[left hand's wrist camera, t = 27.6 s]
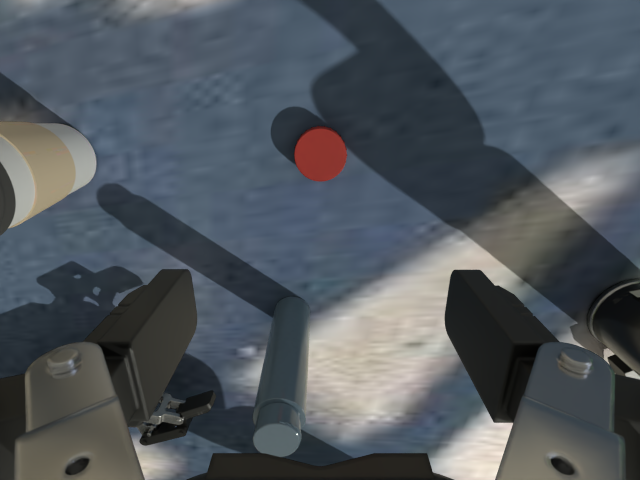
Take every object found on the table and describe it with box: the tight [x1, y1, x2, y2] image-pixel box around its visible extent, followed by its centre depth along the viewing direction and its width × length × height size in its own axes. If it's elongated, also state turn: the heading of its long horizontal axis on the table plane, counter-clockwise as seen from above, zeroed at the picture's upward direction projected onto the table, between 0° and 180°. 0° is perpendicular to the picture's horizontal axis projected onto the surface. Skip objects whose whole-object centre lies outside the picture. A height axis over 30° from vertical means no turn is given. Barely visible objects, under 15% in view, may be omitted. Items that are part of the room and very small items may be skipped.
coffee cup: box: [0, 122, 96, 235], centre depth 31 cm, size 9×9×15 cm
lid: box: [294, 126, 347, 181], centre depth 37 cm, size 5×5×2 cm
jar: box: [253, 296, 310, 457], centre depth 37 cm, size 4×4×18 cm
